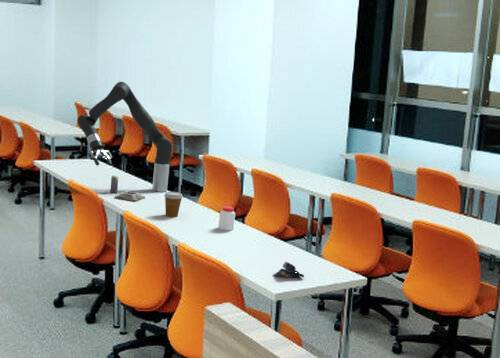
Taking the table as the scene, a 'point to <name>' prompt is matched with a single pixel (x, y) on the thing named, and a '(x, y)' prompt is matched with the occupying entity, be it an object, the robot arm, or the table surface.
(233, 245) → the table surface
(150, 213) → the table surface
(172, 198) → the disposable coffee cup
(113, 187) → the plug
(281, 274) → the black spring clamp
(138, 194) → the socket plate
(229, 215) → the pill bottle
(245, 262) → the table surface
